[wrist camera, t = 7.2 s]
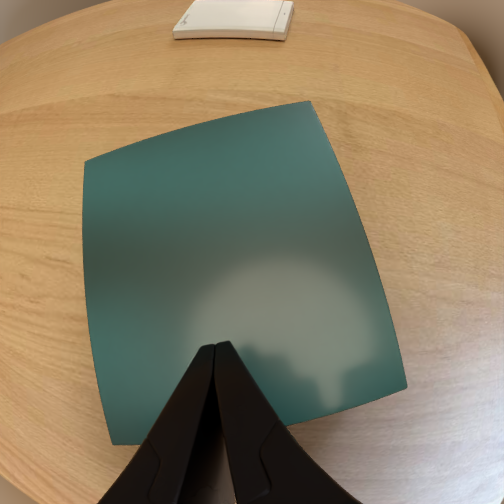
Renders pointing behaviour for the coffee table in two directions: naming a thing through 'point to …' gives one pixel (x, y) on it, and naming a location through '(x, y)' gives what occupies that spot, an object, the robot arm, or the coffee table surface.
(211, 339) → the lid
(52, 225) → the coffee table surface
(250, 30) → the hard drive
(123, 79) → the coffee table surface
